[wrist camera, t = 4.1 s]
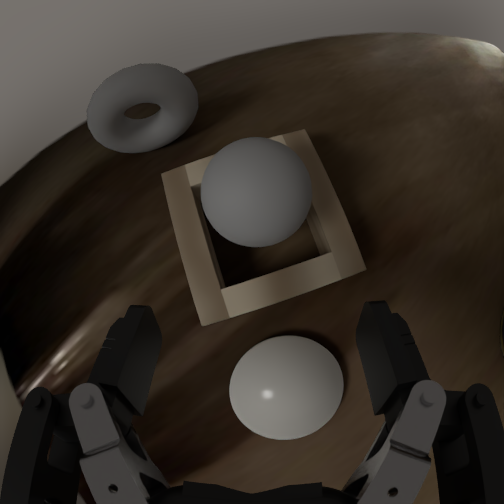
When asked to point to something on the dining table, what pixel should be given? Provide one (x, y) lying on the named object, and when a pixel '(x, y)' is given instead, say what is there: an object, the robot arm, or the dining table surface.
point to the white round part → (286, 387)
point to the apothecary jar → (502, 334)
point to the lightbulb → (256, 192)
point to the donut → (135, 92)
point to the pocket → (274, 284)
